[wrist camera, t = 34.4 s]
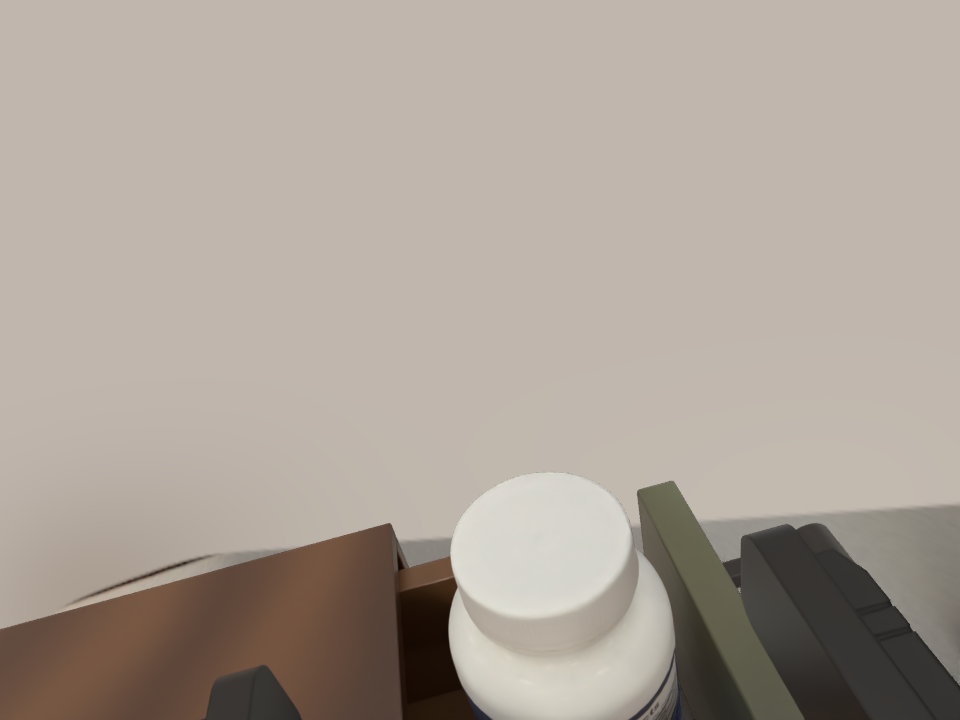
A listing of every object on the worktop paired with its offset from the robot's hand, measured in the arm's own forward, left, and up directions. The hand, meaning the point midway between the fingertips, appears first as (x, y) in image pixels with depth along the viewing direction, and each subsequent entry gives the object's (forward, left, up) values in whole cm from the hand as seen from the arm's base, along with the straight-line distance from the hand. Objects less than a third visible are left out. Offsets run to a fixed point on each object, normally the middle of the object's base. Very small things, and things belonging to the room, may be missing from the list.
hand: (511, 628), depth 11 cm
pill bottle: (-1, -3, -11) cm, 12 cm away
